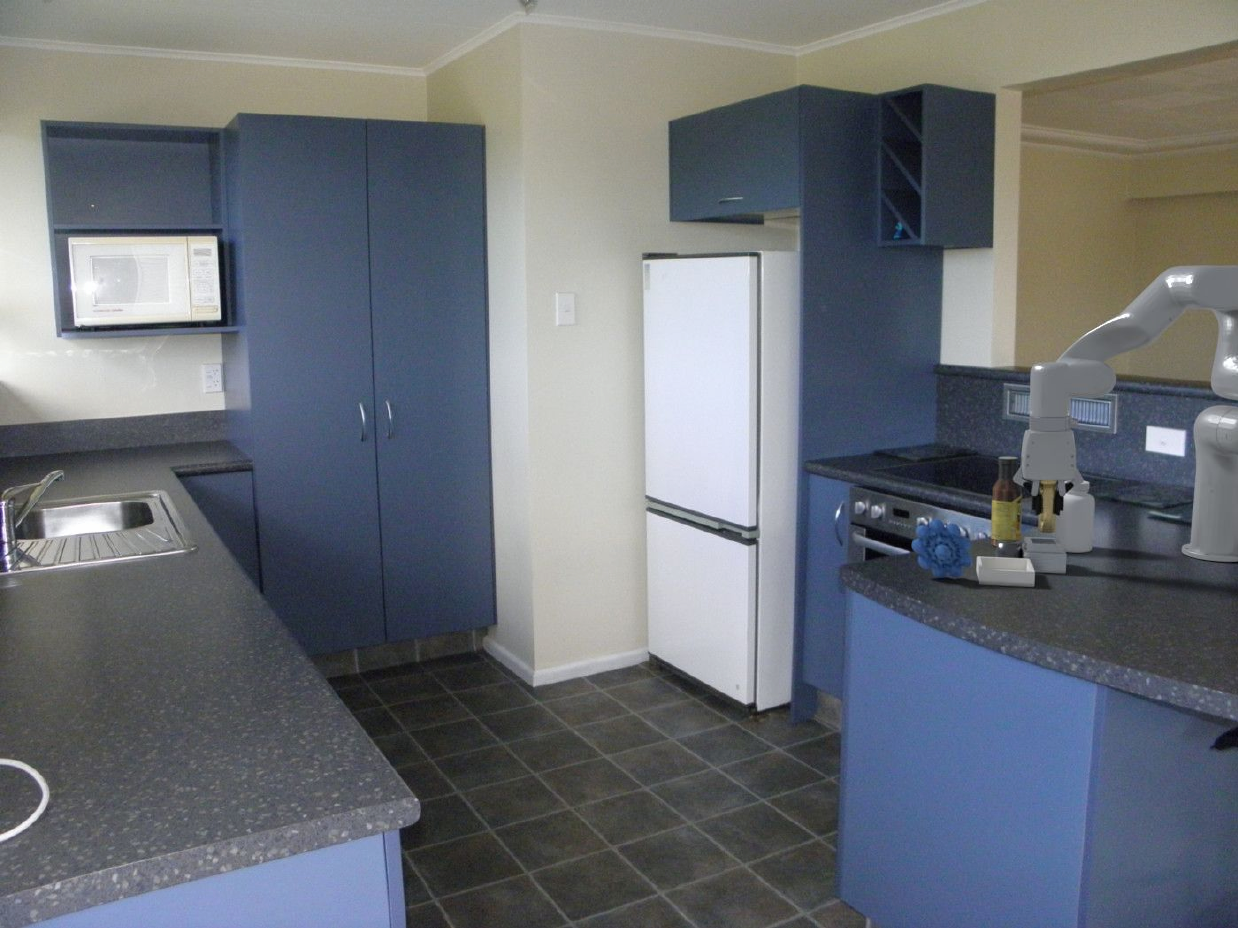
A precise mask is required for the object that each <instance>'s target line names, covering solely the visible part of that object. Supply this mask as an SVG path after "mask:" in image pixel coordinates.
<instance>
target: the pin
mask: <svg viewBox="0 0 1238 928" xmlns="http://www.w3.org/2000/svg"><path fill="white" fill-rule="evenodd" d="M1057 484H1058V481H1054V480H1043V481H1040V482H1039V488H1038V492H1039V496H1040V515H1038V523H1037V525H1038V527H1037V532H1039V533H1044V534H1053V533H1054V532H1055V520H1056V491H1057Z"/></svg>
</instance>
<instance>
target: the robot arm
mask: <svg viewBox="0 0 1238 928" xmlns="http://www.w3.org/2000/svg"><path fill="white" fill-rule="evenodd" d="M1188 310H1211V311H1212V313H1213V314H1214V316H1215V318H1216V320H1217V323H1218V324H1217V325H1218V337H1217V345H1216V349H1215V354H1214V359H1213V363H1212V370H1211V376H1210V386H1211V389H1212V391H1213V392H1214V394H1215V395H1217V396H1219V397H1221V398H1224V399H1229V400H1234V401H1238V265H1202V264H1201V265H1178V266H1174V267H1169V268H1168V269H1166V270H1164V271H1163V272H1162V273H1161V274H1160V275H1158V276H1157V277H1156V278H1155V279H1154V280H1153V281H1152V282H1151V283H1150V284H1149V285H1148V286H1147V287H1146V288H1145V289H1144V290H1143V291H1141V293H1140V294H1139V295H1138V296H1137V297H1136V298H1134V300H1133V301H1132V302H1131V303H1130V304H1128V305H1127V307H1126V308H1124V309H1123V310H1122V311H1121V312H1120V313H1119V314H1117V315H1116V316H1114V317H1113V318H1111V319H1109V320H1107V321H1106V322H1104V323H1103V324H1100V325H1099V326H1097V327H1096V328H1094V329H1092V330H1089V332H1087V333H1086V334H1083V335H1082V336H1081V337H1080V338H1078V339H1077V340H1076V341H1075V342H1073V343H1072V344H1071V345H1070V346H1069V347H1068V348H1067V349H1066V350H1065V351H1064V352H1063V353H1062V354H1061V355H1060V356H1059V357H1058V359H1057V360H1056V361H1054V362H1053V361H1045V362H1037V363H1035V364H1034V365H1033V366H1032V367H1031V369H1030V380H1029V381H1030V383H1029V384H1030V385H1029V386H1030V387H1029V389H1030V391H1029V422H1028V423H1029V426H1028V427H1029V428H1028V429H1026V430H1025V431H1024V434H1023V439H1022V446H1021V455H1020V457H1021V458H1020V467H1019V468H1018V469H1017V473H1016V474H1015V476H1014V478H1013V481H1014V482H1015V483H1017V484H1019V485H1020V487H1023V488H1024V489H1025V490H1026V491H1027V492H1028V493H1030V494H1031V505H1030V506H1031V511H1034V515H1035V516H1039V515H1040V496H1039V482H1040V481H1043V480H1054V481H1058V484H1056V515H1057V516H1060V511H1063V505H1064V496H1065V495H1066V493H1067V492H1068V491H1070V490H1071V489H1072V488H1073V487H1075V486H1077V485H1079V484H1081V483H1083V482H1084V481H1085V480H1084V478H1083V476H1082V474H1081V472H1080V471H1079V469H1078V467H1077V451H1076V450H1077V449H1076V442H1075V441H1076V440H1075V435H1074V434H1075V433H1074V430H1072V429H1071V428H1072V427H1074V426H1078V425H1079V419H1078V418H1075V417H1072V416H1071V405H1072V404H1071V399H1072V398H1082V399H1098V398H1102V397H1105V396H1106V395H1108V394H1110V392H1112V391H1113V389H1114V387H1115V385H1116V383H1117V375H1116V372H1115V370H1114V368H1113V367H1111V365H1109V364H1108V363H1106V361H1108V360H1111V359H1112V358H1115V357H1116V356H1119V355H1122V354H1125V353H1129V352H1132V351H1136V350H1138V349H1141V348H1144V347H1147V346H1149V345H1151V344H1153V343H1154V342H1156V341H1157V340H1158V339H1159V338H1160V337H1161V336H1162V334H1164V332H1166V331H1167V329H1169V328H1170V327H1171V326H1172V325H1173V324H1174V323H1175V322H1176V320H1178V319H1179V318H1180V317H1181V316H1182V315H1184V313H1186V311H1188ZM1193 440H1194V448H1195V459H1196V460H1195V479H1194V491H1193V492H1194V493H1193V507H1192V515H1191V516H1192V519H1191V531H1190V532H1191V533H1190V543H1185V544H1183V545H1182V547H1181V553H1182V554H1184V555H1186V556H1188V557H1190V558H1194V559H1199V560H1205V561H1211V562H1220V563H1221V562H1222V563H1238V406H1234V405H1233V406H1232V405H1225V404H1224V405H1223V404H1220V405H1213V406H1208V407H1207V408H1205V409H1204V410H1203V411H1201V412H1200V413H1199V414H1198V415H1197V416H1196V418H1195V421H1194V423H1193ZM1070 480H1071V481H1070ZM1029 481H1031V482H1029ZM1065 481H1068V482H1067V483H1065Z"/></svg>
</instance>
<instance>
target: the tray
mask: <svg viewBox="0 0 1238 928" xmlns="http://www.w3.org/2000/svg"><path fill="white" fill-rule="evenodd" d="M975 571H976V574H977V581H978V584H979V585H985V586H987V585H989V586H1007V587H1008V586H1009V587H1024V588H1025V587H1027V588H1030V587H1031V588H1034V587H1035V579H1036V578H1035V577H1036V572H1035V571H1034V569H1033V566H1032V564H1031V561H1030V559H1024V558H1002V557H996V556H980V555H979V556H976V568H975Z"/></svg>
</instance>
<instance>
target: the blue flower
mask: <svg viewBox="0 0 1238 928" xmlns="http://www.w3.org/2000/svg"><path fill="white" fill-rule="evenodd" d="M915 533H916V536H917V537H918V538H916V539H913V540H912V542H911V549H912V550H913V551H914V552H915V553H916V554H918V557H917V562H918V565H919V566H920V567H921V568H922V569H925V570H929V569H931V572H932V574H933V575H934V576H935V577H936V578H939V579H941V578H942V579H944V578H947V576H948V575H950V577H953V578H955V579H958V578H959V577H961V576H962V575H963V573H964V570H963V568H969V567H970V566H972V565H973V561H974V560H973V558H972V556H971V554H970V553H968V552H969V551H971V549H972V542H971V540H970V539H969V538H968V537H965V536H963V535H962V536H961V534H962V533H961V528H960V527H959V526H958V525H957V524H955V523H948V524H946V525H945V523H944V522H943V521H942V520H940V519H937V518H934V519H932V520H930V522H929V523H928V526H927V525H919V526H917V527H916V530H915Z"/></svg>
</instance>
